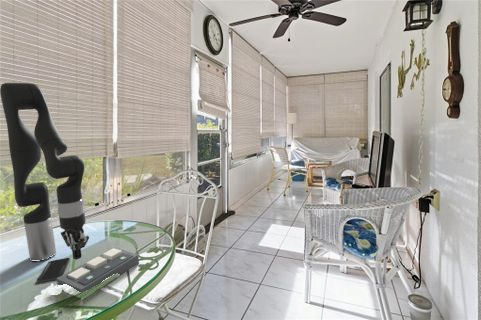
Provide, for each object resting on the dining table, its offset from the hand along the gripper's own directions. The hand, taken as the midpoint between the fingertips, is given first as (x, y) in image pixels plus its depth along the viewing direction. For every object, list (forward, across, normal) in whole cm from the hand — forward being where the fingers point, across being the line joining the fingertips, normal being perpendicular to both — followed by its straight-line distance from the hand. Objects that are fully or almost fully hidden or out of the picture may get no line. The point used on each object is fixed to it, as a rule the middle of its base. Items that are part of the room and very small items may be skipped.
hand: (77, 258), depth 93 cm
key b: (+7, 0, +7) cm, 10 cm away
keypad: (+10, +2, +7) cm, 13 cm away
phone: (+11, -18, +1) cm, 21 cm away
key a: (+8, 0, 0) cm, 8 cm away
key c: (+7, 0, +14) cm, 16 cm away
